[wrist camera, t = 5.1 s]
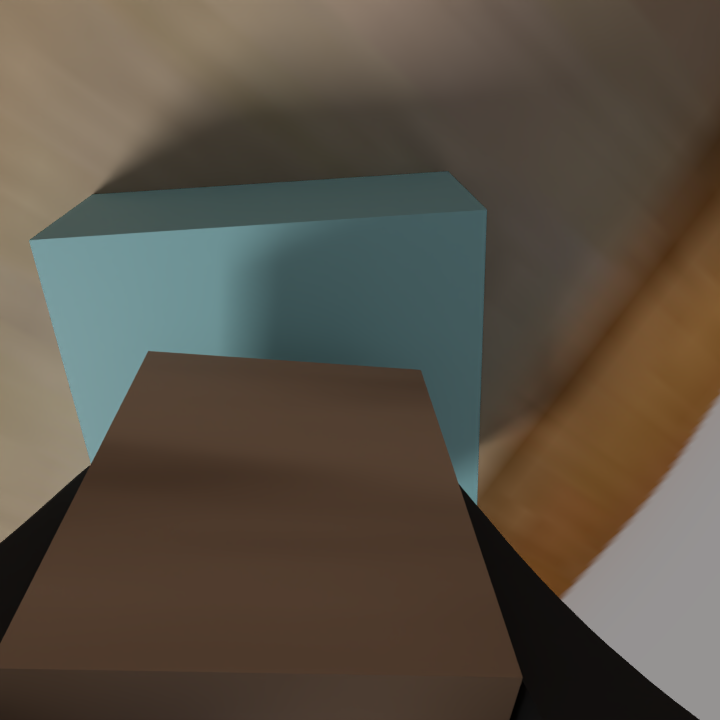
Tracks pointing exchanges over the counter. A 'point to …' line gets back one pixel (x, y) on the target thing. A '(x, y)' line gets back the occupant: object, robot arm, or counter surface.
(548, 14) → the counter surface
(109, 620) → the walnut block
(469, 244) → the teal base box
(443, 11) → the counter surface
